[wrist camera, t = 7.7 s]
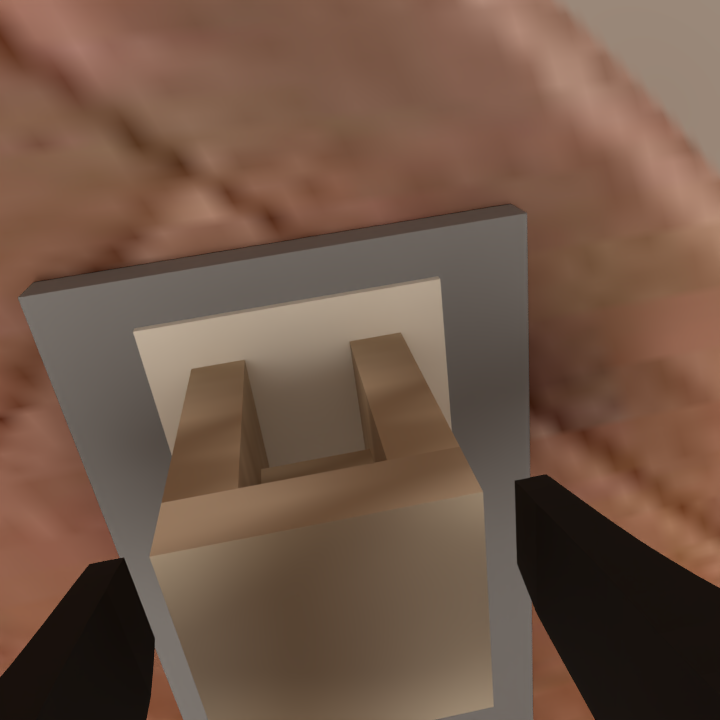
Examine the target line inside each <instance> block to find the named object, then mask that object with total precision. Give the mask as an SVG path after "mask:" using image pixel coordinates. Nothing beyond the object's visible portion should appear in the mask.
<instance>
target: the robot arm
mask: <svg viewBox="0 0 720 720" xmlns="http://www.w3.org/2000/svg"><path fill="white" fill-rule="evenodd" d="M515 514H516V549H517V565H518V568H519V570H520V573H521V575H522V578H523V581H524V583H525V586H526V588H527V591H528V593H529V596H530V598H531V600H532V603H533V605H534V608H535V610H536V612H537V615H538V616H539V618H540V620H541V622H542V624H543V626H544V628H545V629H546V631H547V633H548V635H549V637H550V639H551V640H552V642H553V644H554V646H555V648H556V650H557V651H558V653H559V655H560V657H561V659H562V661H563V662H564V664H565V666H566V668H567V670H568V671H569V673H570V675H571V677H572V679H573V680H574V682H575V684H576V686H577V688H578V689H579V691H580V693H581V695H582V697H583V698H584V700H585V702H586V704H587V706H588V708H589V709H590V711H591V713H592V715H593V717H594V718H595V720H720V588H719V587H717V586H715V585H713V584H711V583H709V582H708V581H706V580H704V579H702V578H700V577H699V576H697V575H695V574H693V573H692V572H690V571H688V570H687V569H685V568H683V567H682V566H680V565H678V564H677V563H675V562H673V561H672V560H670V559H668V558H667V557H665V556H663V555H662V554H660V553H659V552H657V551H655V550H654V549H652V548H651V547H649V546H648V545H646V544H644V543H643V542H641V541H640V540H638V539H637V538H635V537H634V536H632V535H631V534H629V533H628V532H626V531H625V530H623V529H622V528H620V527H619V526H617V525H616V524H615V523H613V522H612V521H610V520H609V519H607V518H606V517H605V516H603V515H602V514H600V513H599V512H598V511H596V510H595V509H593V508H592V507H591V506H589V505H588V504H586V503H585V502H584V501H582V500H581V499H580V498H578V497H577V496H575V495H574V494H573V493H571V492H570V491H569V490H567V489H566V488H564V487H563V486H562V485H560V484H559V483H558V482H556V481H555V480H553V479H552V478H551V477H549V476H548V475H541V476H535V477H530V478H525V479H520V480H515ZM154 649H155V637H154V634H153V632H152V629H151V626H150V624H149V621H148V619H147V616H146V613H145V611H144V608H143V605H142V603H141V600H140V598H139V595H138V592H137V590H136V587H135V585H134V582H133V579H132V577H131V574H130V572H129V569H128V566H127V564H126V561H125V559H124V558H119V559H114V560H108V561H103V562H98V563H93V564H89V566H88V567H87V568H86V569H85V571H84V572H83V573H82V574H81V576H80V577H79V578H78V579H77V581H76V582H75V583H74V585H73V586H72V587H71V588H70V590H69V591H68V592H67V594H66V595H65V596H64V598H63V599H62V600H61V601H60V603H59V604H58V605H57V607H56V608H55V609H54V611H53V612H52V613H51V614H50V616H49V617H48V618H47V620H46V621H45V622H44V624H43V625H42V626H41V627H40V629H39V630H38V631H37V633H36V634H35V635H34V636H33V638H32V639H31V640H30V641H29V643H28V644H27V645H26V646H25V648H24V649H23V650H22V651H21V653H20V654H19V655H18V656H17V658H16V659H15V660H14V662H13V663H12V664H11V665H10V667H9V668H8V669H7V670H6V671H5V672H4V674H3V675H2V676H1V677H0V720H146V718H147V713H148V708H149V703H150V697H151V687H152V676H153V664H154Z"/></svg>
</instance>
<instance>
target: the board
mask: <svg viewBox="0 0 720 720" xmlns="http://www.w3.org/2000/svg"><path fill="white" fill-rule="evenodd" d="M18 299H19V302H20V304H21V307H22V310H23V312H24V315H25V317H26V320H27V322H28V325H29V327H30V330H31V333H32V335H33V338H34V340H35V343H36V345H37V348H38V350H39V353H40V355H41V358H42V361H43V363H44V366H45V368H46V371H47V373H48V376H49V378H50V381H51V383H52V386H53V389H54V391H55V394H56V396H57V399H58V401H59V404H60V406H61V409H62V412H63V414H64V417H65V419H66V422H67V424H68V427H69V429H70V432H71V434H72V437H73V440H74V442H75V445H76V447H77V450H78V452H79V455H80V457H81V460H82V463H83V465H84V468H85V470H86V473H87V475H88V478H89V480H90V483H91V485H92V488H93V491H94V493H95V496H96V498H97V501H98V503H99V506H100V508H101V511H102V514H103V516H104V519H105V521H106V524H107V526H108V529H109V531H110V534H111V536H112V539H113V542H114V544H115V547H116V549H117V552H118V554H119V557H120V558H124V559H125V561H126V564H127V566H128V569H129V572H130V574H131V577H132V579H133V582H134V585H135V587H136V590H137V592H138V595H139V598H140V600H141V603H142V605H143V608H144V611H145V613H146V616H147V619H148V621H149V624H150V626H151V629H152V632H153V634H154V637H155V649H156V651H157V654H158V656H159V659H160V661H161V664H162V667H163V669H164V672H165V674H166V677H167V679H168V682H169V684H170V687H171V689H172V692H173V695H174V697H175V700H176V702H177V705H178V707H179V710H180V712H181V715H182V717H183V720H208V718H207V715H206V713H205V710H204V707H203V704H202V702H201V699H200V696H199V693H198V690H197V688H196V685H195V682H194V679H193V677H192V674H191V671H190V668H189V666H188V663H187V660H186V657H185V654H184V652H183V649H182V646H181V643H180V641H179V638H178V635H177V632H176V629H175V627H174V624H173V621H172V618H171V616H170V613H169V610H168V607H167V605H166V602H165V599H164V596H163V593H162V591H161V588H160V585H159V582H158V580H157V577H156V574H155V571H154V568H153V566H152V563H151V560H150V557H149V556H150V552H151V547H152V543H153V538H154V534H155V529H156V525H157V520H158V516H159V511H160V507H161V502H162V498H163V493H164V489H165V485H166V480H167V476H168V471H169V467H170V462H171V458H172V453H173V449H174V444H175V440H176V435H177V431H178V426H179V422H180V417H181V413H182V409H183V404H184V400H185V395H186V391H187V386H188V382H189V377H190V373H191V369H194V368H200V367H205V366H211V365H217V364H223V363H228V362H234V361H240V360H245V363H246V368H247V372H248V376H249V381H250V385H251V389H252V394H253V398H254V402H255V407H256V411H257V415H258V420H259V424H260V428H261V433H262V437H263V441H264V446H265V450H266V454H267V459H268V463H269V467H276V466H281V465H286V464H292V463H297V462H302V461H308V460H313V459H318V458H324V457H329V456H334V455H340V454H345V453H350V452H356V451H361V450H365V444H364V437H363V431H362V424H361V417H360V410H359V403H358V397H357V390H356V383H355V376H354V369H353V363H352V356H351V349H350V342H349V341H354V340H360V339H366V338H372V337H377V336H383V335H389V334H395V333H400V332H401V334H402V336H403V338H404V340H405V341H406V343H407V345H408V347H409V349H410V351H411V353H412V355H413V357H414V359H415V361H416V363H417V365H418V367H419V369H420V371H421V372H422V374H423V376H424V378H425V380H426V382H427V384H428V386H429V388H430V390H431V392H432V394H433V396H434V398H435V400H436V402H437V403H438V405H439V407H440V409H441V411H442V413H443V415H444V417H445V419H446V421H447V423H448V425H449V427H450V429H451V431H452V433H453V434H454V436H455V438H456V440H457V442H458V444H459V446H460V448H461V450H462V452H463V454H464V456H465V458H466V460H467V462H468V464H469V465H470V467H471V469H472V471H473V473H474V475H475V477H476V479H477V481H478V483H479V485H480V487H481V489H482V491H483V501H484V521H485V541H486V561H487V581H488V602H489V622H490V642H491V662H492V682H493V703H494V707H491V708H486V709H481V710H477V711H472V712H468V713H463V714H459V715H454V716H450V717H445V718H441V719H436V720H533V677H532V600H531V598H530V596H529V593H528V591H527V588H526V586H525V583H524V581H523V578H522V575H521V573H520V570H519V568H518V565H517V549H516V514H515V480H520V479H525V478H530V420H529V334H528V249H527V213H526V212H524V211H522V210H521V209H519V208H517V207H515V206H514V205H512V204H508V205H502V206H495V207H489V208H483V209H477V210H471V211H465V212H459V213H453V214H447V215H441V216H435V217H429V218H423V219H416V220H410V221H404V222H398V223H392V224H386V225H380V226H374V227H368V228H362V229H356V230H350V231H344V232H337V233H331V234H325V235H319V236H313V237H307V238H301V239H295V240H289V241H283V242H277V243H271V244H265V245H258V246H252V247H246V248H240V249H234V250H228V251H222V252H216V253H210V254H204V255H198V256H192V257H186V258H179V259H173V260H167V261H161V262H155V263H149V264H143V265H137V266H131V267H125V268H119V269H113V270H107V271H100V272H94V273H88V274H82V275H76V276H70V277H64V278H58V279H52V280H46V281H40V282H34V283H32V284H31V285H30V286H29V287H28V288H27V289H26V290H25V291H24V292H23V293H22V294H21V295H20V296H19V297H18Z"/></svg>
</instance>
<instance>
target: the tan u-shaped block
mask: <svg viewBox="0 0 720 720" xmlns="http://www.w3.org/2000/svg"><path fill="white" fill-rule="evenodd" d="M349 342H350V349H351V356H352V363H353V369H354V376H355V383H356V390H357V397H358V403H359V410H360V417H361V424H362V431H363V437H364V444H365V450H361V451H356V452H350V453H345V454H340V455H334V456H329V457H324V458H318V459H313V460H308V461H302V462H297V463H292V464H286V465H281V466H276V467H269V463H268V459H267V454H266V450H265V446H264V441H263V437H262V433H261V428H260V424H259V420H258V415H257V411H256V407H255V402H254V398H253V394H252V389H251V385H250V381H249V376H248V372H247V368H246V363H245V360H240V361H234V362H228V363H223V364H217V365H211V366H205V367H200V368H194V369H191V373H190V377H189V382H188V386H187V391H186V395H185V400H184V404H183V409H182V413H181V417H180V422H179V426H178V431H177V435H176V440H175V444H174V449H173V453H172V458H171V462H170V467H169V471H168V476H167V480H166V485H165V489H164V493H163V498H162V502H161V507H160V511H159V516H158V520H157V525H156V529H155V534H154V538H153V543H152V547H151V552H150V556H149V557H150V560H151V563H152V566H153V568H154V571H155V574H156V577H157V580H158V582H159V585H160V588H161V591H162V593H163V596H164V599H165V602H166V605H167V607H168V610H169V613H170V616H171V618H172V621H173V624H174V627H175V629H176V632H177V635H178V638H179V641H180V643H181V646H182V649H183V652H184V654H185V657H186V660H187V663H188V666H189V668H190V671H191V674H192V677H193V679H194V682H195V685H196V688H197V690H198V693H199V696H200V699H201V702H202V704H203V707H204V710H205V713H206V715H207V718H208V720H436V719H441V718H445V717H450V716H454V715H459V714H463V713H468V712H472V711H477V710H481V709H486V708H491V707H494V703H493V682H492V662H491V642H490V622H489V602H488V581H487V561H486V541H485V521H484V501H483V491H482V489H481V487H480V485H479V483H478V481H477V479H476V477H475V475H474V473H473V471H472V469H471V467H470V465H469V464H468V462H467V460H466V458H465V456H464V454H463V452H462V450H461V448H460V446H459V444H458V442H457V440H456V438H455V436H454V434H453V433H452V431H451V429H450V427H449V425H448V423H447V421H446V419H445V417H444V415H443V413H442V411H441V409H440V407H439V405H438V403H437V402H436V400H435V398H434V396H433V394H432V392H431V390H430V388H429V386H428V384H427V382H426V380H425V378H424V376H423V374H422V372H421V371H420V369H419V367H418V365H417V363H416V361H415V359H414V357H413V355H412V353H411V351H410V349H409V347H408V345H407V343H406V341H405V340H404V338H403V336H402V334H401V332H400V333H395V334H389V335H383V336H377V337H372V338H366V339H360V340H354V341H349Z"/></svg>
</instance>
